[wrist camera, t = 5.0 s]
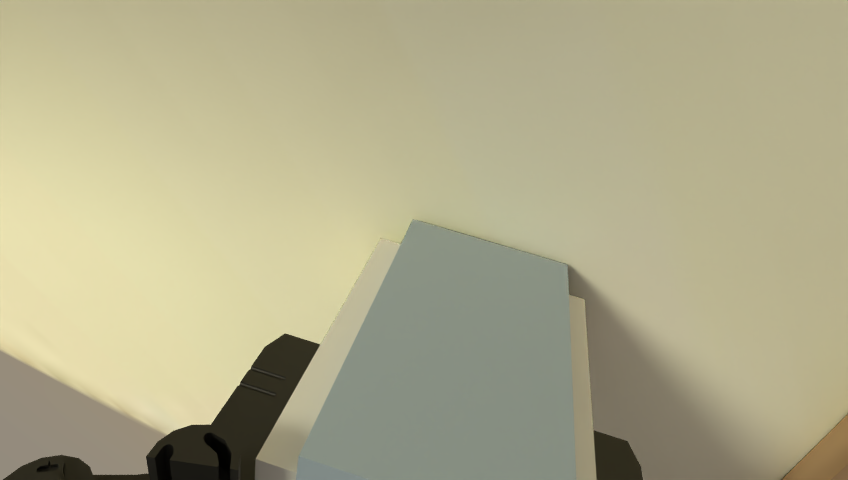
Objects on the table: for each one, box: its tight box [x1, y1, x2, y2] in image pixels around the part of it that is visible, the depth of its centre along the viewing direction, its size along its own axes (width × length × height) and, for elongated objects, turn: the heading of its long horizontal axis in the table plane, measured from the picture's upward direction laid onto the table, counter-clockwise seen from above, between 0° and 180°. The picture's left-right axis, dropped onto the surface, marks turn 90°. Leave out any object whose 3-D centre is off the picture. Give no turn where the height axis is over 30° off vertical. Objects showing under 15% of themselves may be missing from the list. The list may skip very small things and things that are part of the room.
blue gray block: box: [296, 219, 576, 480], centre depth 11 cm, size 4×5×7 cm
